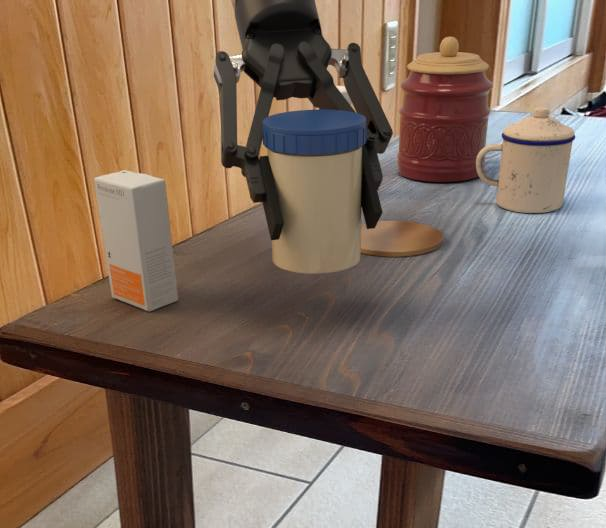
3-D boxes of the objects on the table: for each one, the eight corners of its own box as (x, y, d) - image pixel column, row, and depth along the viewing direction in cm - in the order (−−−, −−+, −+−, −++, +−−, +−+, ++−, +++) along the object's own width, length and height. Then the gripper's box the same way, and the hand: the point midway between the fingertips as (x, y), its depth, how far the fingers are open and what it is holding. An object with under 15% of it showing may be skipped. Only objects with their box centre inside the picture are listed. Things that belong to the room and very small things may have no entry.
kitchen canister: (477, 161, 132) (490, 30, 122) (490, 183, 122) (505, 41, 111) (393, 163, 133) (399, 32, 122) (399, 184, 122) (406, 43, 112)
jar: (367, 246, 83) (370, 116, 76) (351, 276, 77) (352, 137, 70) (285, 242, 85) (280, 115, 78) (262, 271, 79) (254, 134, 72)
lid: (374, 133, 78) (374, 110, 76) (355, 156, 70) (355, 131, 69) (278, 130, 79) (277, 108, 78) (250, 153, 72) (249, 129, 71)
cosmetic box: (110, 299, 88) (91, 177, 81) (142, 287, 91) (126, 168, 84) (148, 313, 85) (131, 187, 78) (180, 301, 87) (167, 178, 80)
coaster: (448, 228, 106) (448, 223, 105) (437, 259, 96) (437, 254, 96) (353, 223, 108) (353, 218, 108) (333, 253, 99) (333, 248, 98)
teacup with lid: (561, 196, 116) (576, 101, 109) (567, 215, 109) (583, 115, 102) (472, 194, 118) (481, 100, 111) (471, 213, 110) (481, 114, 104)
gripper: (370, 25, 85) (423, 234, 82) (158, 38, 80) (207, 260, 77) (391, -37, 78) (450, 190, 75) (159, -26, 73) (213, 216, 70)
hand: (326, 226), depth 76 cm, fingers closed on jar, 8 cm apart
